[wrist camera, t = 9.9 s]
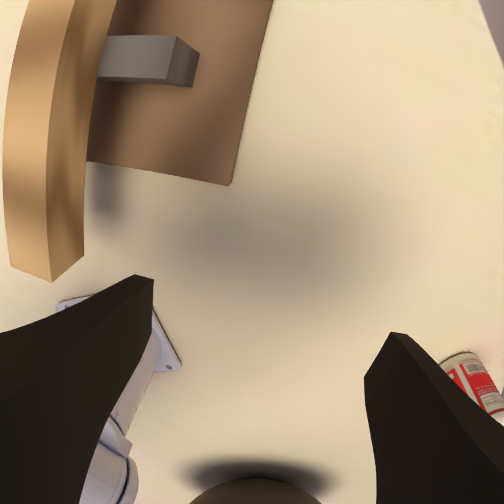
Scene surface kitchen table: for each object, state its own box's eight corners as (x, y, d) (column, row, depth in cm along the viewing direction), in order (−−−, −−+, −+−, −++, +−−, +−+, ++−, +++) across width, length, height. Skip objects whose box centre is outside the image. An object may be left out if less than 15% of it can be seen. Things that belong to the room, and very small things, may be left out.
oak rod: (84, 255, 15) (51, 282, 12) (44, 243, 14) (10, 266, 12) (160, -99, 6) (139, -126, 3) (111, -89, 6) (85, -111, 3)
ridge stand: (26, 150, 17) (-21, 164, 13) (54, -1, 12) (10, -14, 8) (231, 182, 17) (213, 206, 13) (275, -9, 12) (273, -49, 8)
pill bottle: (424, 404, 24) (453, 495, 14) (421, 368, 22) (460, 474, 12) (476, 379, 23) (515, 462, 13) (480, 339, 21) (533, 432, 11)
